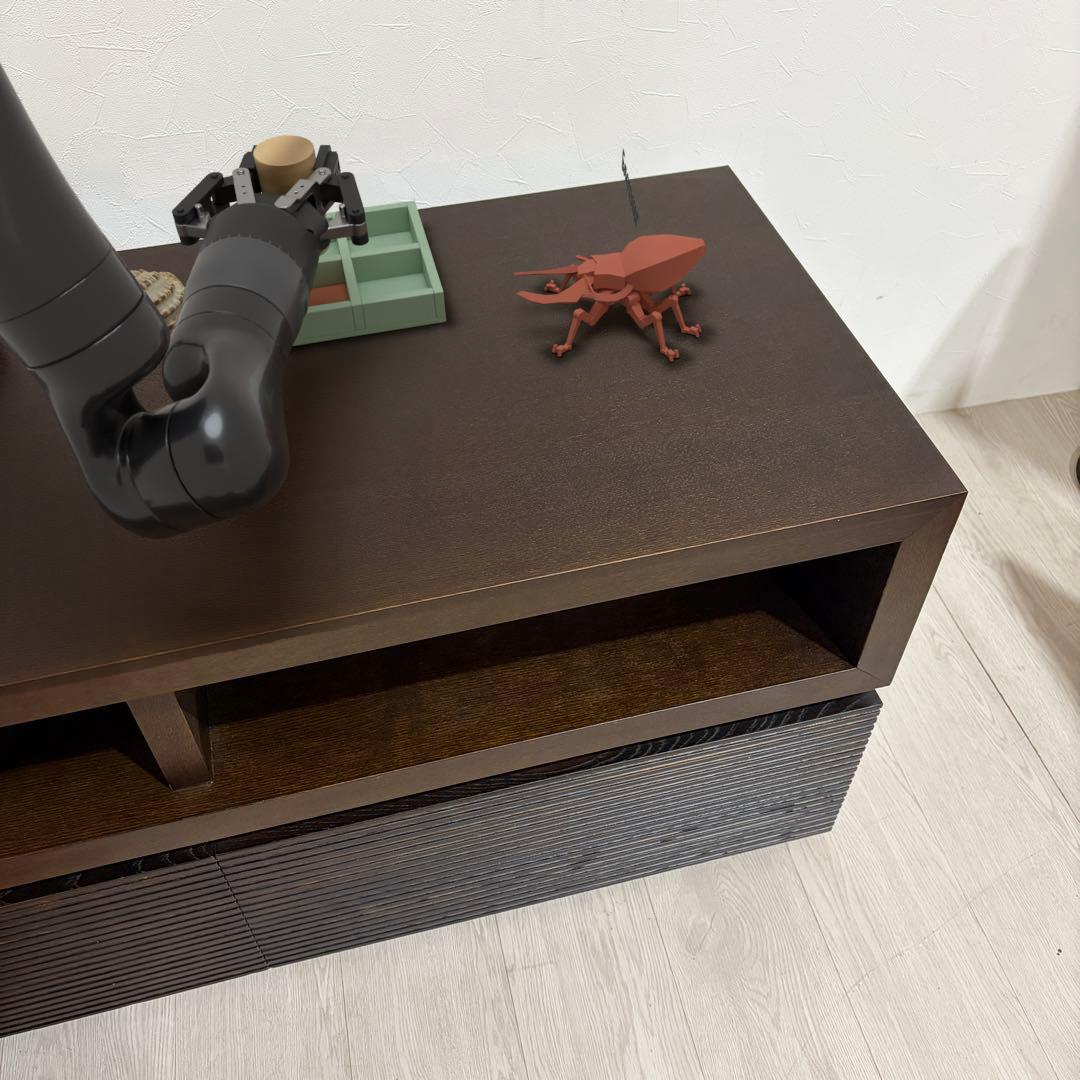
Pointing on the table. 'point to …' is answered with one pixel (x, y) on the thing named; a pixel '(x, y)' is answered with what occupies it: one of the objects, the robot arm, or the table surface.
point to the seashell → (163, 293)
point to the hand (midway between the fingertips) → (294, 156)
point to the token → (284, 163)
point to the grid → (375, 280)
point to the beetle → (627, 281)
